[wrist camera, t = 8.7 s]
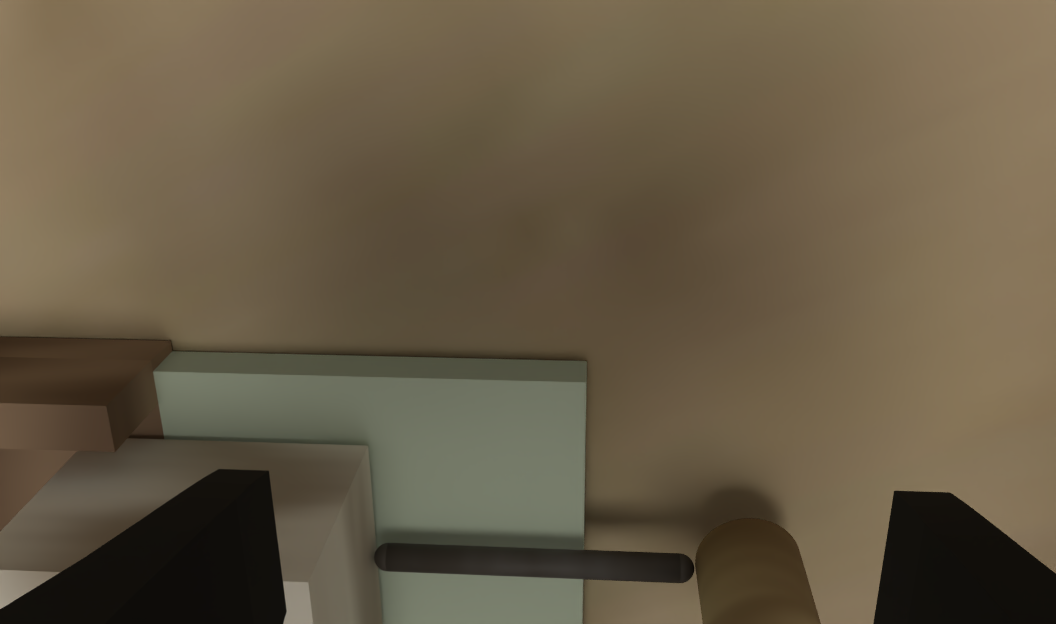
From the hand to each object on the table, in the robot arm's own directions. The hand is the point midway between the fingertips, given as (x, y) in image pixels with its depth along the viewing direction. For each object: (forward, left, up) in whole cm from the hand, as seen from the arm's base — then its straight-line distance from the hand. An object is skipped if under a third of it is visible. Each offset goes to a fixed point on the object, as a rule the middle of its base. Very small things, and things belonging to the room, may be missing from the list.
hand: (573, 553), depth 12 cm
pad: (+4, +6, -9) cm, 12 cm away
